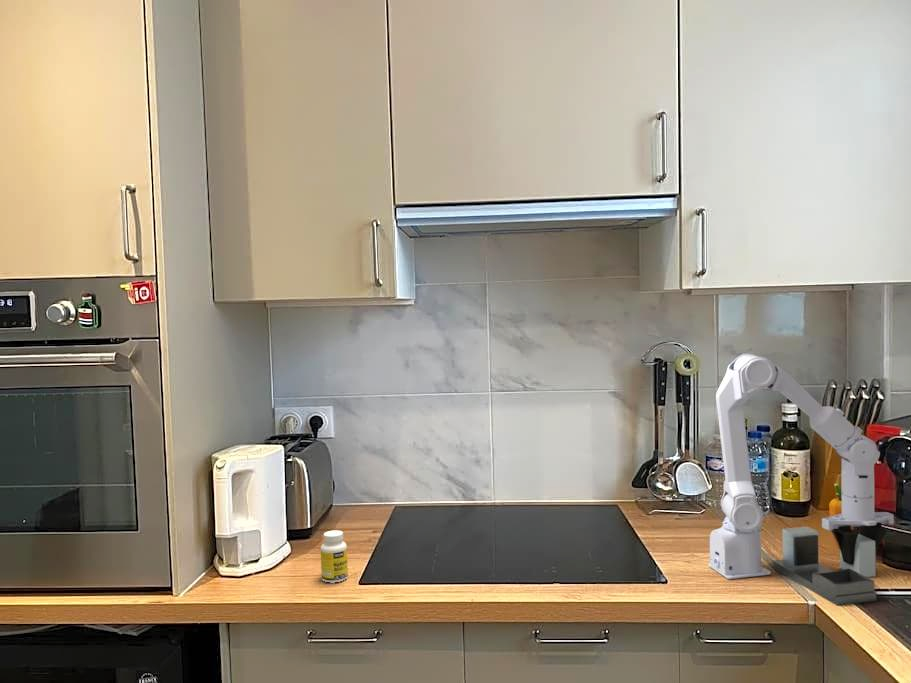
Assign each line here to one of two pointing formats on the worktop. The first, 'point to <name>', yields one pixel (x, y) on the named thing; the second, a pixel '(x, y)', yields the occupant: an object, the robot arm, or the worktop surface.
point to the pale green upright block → (862, 557)
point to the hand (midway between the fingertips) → (858, 561)
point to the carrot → (836, 506)
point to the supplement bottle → (334, 557)
